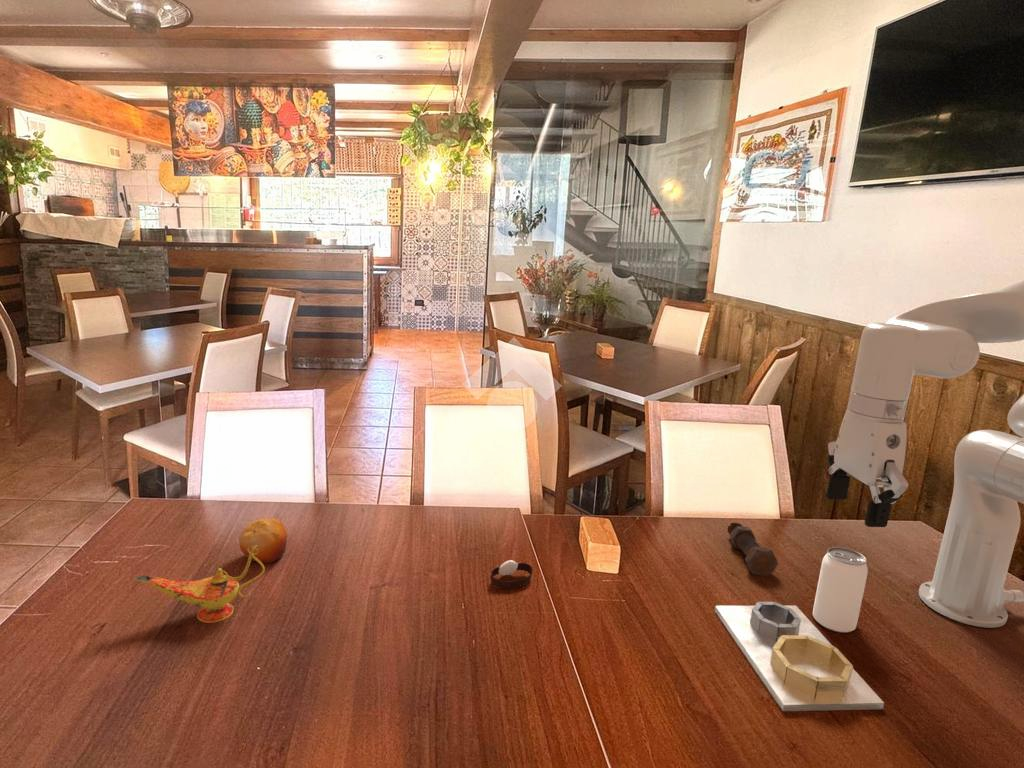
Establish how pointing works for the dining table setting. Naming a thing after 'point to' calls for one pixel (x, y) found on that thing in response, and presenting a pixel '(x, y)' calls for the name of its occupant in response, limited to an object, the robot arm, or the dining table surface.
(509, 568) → the watch
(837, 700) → the plate
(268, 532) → the fruit
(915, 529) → the dining table surface
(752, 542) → the bolt
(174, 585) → the magic lamp
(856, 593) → the can
